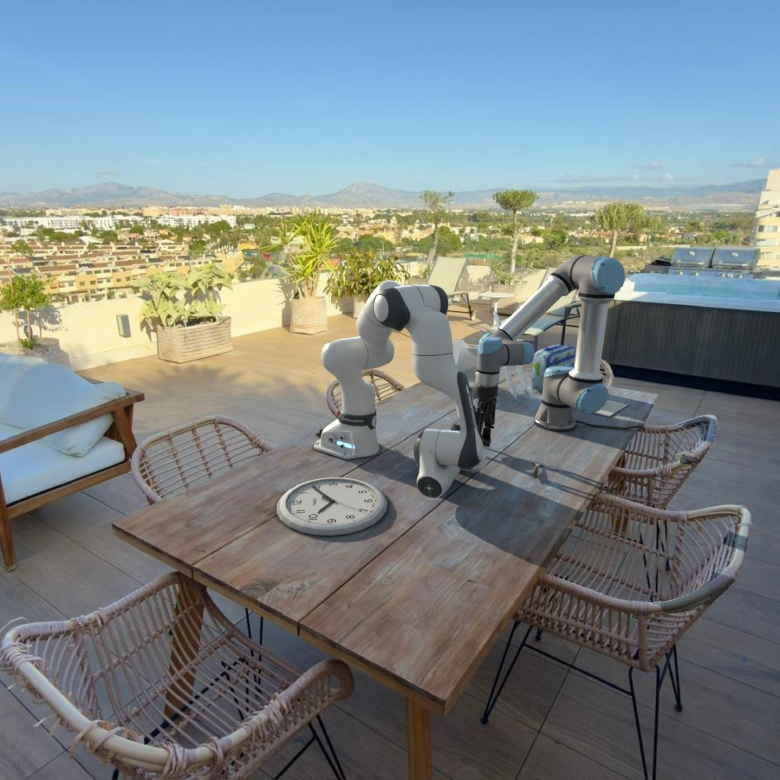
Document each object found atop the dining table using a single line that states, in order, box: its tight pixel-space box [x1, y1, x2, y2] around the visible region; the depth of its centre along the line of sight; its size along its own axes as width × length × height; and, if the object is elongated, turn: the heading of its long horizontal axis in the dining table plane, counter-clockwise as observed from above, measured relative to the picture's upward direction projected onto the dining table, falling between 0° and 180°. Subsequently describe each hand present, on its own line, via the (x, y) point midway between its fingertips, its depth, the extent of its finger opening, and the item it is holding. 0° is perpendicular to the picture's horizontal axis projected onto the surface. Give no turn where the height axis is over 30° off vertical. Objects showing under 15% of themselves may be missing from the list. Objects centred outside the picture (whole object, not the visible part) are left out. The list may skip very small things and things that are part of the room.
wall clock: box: [276, 476, 388, 537], centre depth 142 cm, size 30×2×30 cm
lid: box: [481, 433, 492, 445], centre depth 178 cm, size 6×6×2 cm
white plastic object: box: [453, 310, 531, 400], centre depth 245 cm, size 37×45×31 cm
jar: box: [449, 419, 464, 472], centre depth 164 cm, size 5×5×15 cm
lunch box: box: [530, 344, 576, 392], centre depth 247 cm, size 26×11×21 cm, turn 134°
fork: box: [533, 454, 544, 480], centre depth 165 cm, size 3×16×2 cm, turn 160°
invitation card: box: [594, 399, 629, 418], centre depth 226 cm, size 21×1×15 cm
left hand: (458, 447), depth 165 cm, fingers closed on jar, 5 cm apart
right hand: (481, 448), depth 179 cm, fingers closed on lid, 6 cm apart
